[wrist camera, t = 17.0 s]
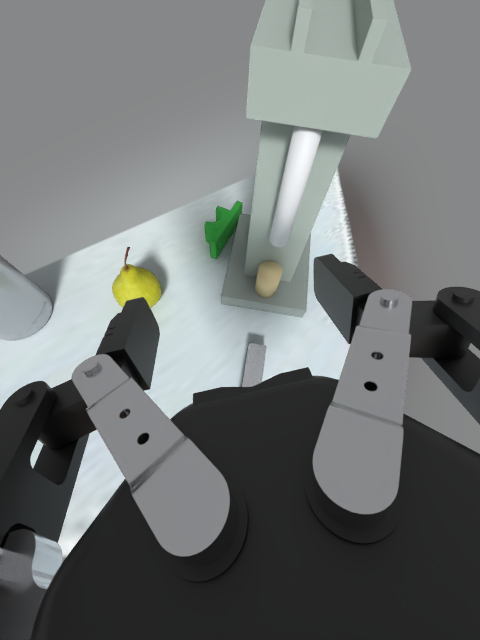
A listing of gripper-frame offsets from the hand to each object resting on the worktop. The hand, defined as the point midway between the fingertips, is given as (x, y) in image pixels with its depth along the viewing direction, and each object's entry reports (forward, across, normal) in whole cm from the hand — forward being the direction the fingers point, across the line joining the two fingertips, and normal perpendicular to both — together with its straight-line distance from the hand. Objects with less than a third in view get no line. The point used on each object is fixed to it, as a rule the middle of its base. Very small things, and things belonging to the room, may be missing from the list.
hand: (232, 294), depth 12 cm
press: (+33, -7, +16) cm, 37 cm away
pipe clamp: (+41, 0, +11) cm, 42 cm away
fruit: (+29, +15, +15) cm, 36 cm away
